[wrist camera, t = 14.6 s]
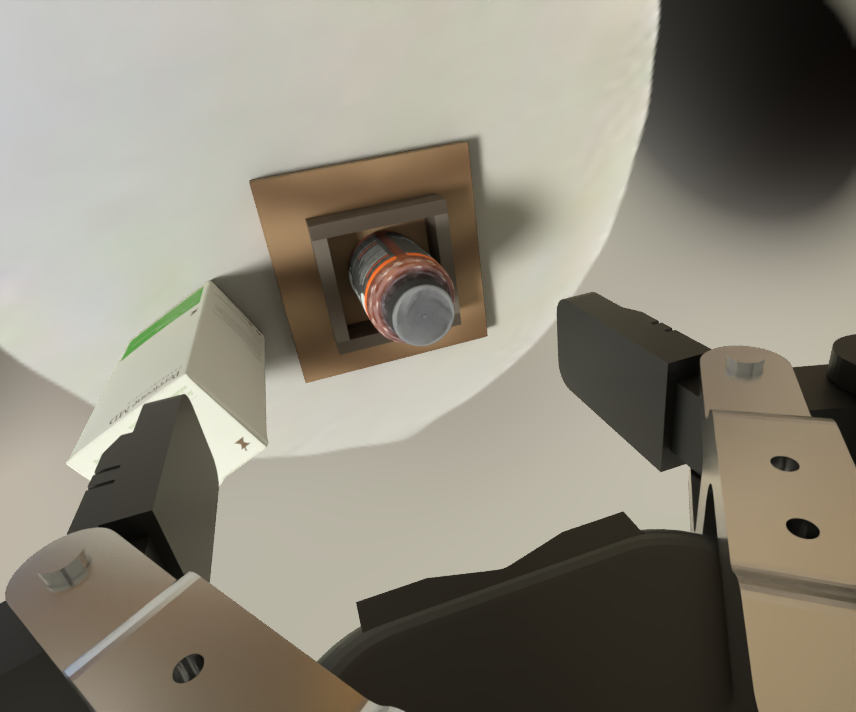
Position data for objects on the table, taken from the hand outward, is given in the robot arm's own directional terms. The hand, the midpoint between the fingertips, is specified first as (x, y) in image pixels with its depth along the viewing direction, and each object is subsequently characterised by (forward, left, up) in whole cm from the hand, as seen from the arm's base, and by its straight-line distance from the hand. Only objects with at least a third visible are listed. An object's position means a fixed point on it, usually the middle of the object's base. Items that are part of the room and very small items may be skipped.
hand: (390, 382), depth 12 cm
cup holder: (+7, +5, -32) cm, 33 cm away
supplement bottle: (+7, +5, -31) cm, 32 cm away
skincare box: (+10, -10, -32) cm, 35 cm away
